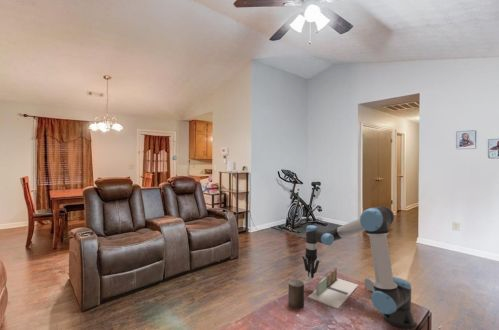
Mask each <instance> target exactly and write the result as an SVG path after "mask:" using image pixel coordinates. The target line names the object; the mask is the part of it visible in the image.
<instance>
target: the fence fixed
mask: <svg viewBox="0 0 499 330" xmlns="http://www.w3.org/2000/svg"><path fill="white" fill-rule="evenodd" d="M337 270H338V269H337V267H334V268H333V270H332V271H330V272H329V273H328V274H325V275H324V277H327V287H326V288H328V286H329V285H330V284H332V283H333V282H334V281H335V280H337V277H338V276H337V275H338V273H337V272H338V271H337Z"/></svg>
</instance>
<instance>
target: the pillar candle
mask: <svg viewBox="0 0 499 330" xmlns="http://www.w3.org/2000/svg"><path fill="white" fill-rule="evenodd" d="M287 283H288V306H289V307H290V308H293V309H302V308H303V307H305V283H304V281H303V280H300V279H294V278H293V279H290V280H288V282H287Z"/></svg>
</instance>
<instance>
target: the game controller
mask: <svg viewBox="0 0 499 330" xmlns="http://www.w3.org/2000/svg"><path fill="white" fill-rule="evenodd" d="M375 281H376V280H374V279H372V278H370V277H366V278H364V281H363V283H364V287H365V288H366V290H368V292H369V291H370V292H372V293H373V292H374V286H373V283H374V282H375Z"/></svg>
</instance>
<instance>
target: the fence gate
mask: <svg viewBox="0 0 499 330" xmlns="http://www.w3.org/2000/svg"><path fill="white" fill-rule="evenodd" d="M315 285H316V286H315V287H316V288H315V290H316V295H319V294H320V293H321V292H322V291H323V290H324V289H325V288H326V287H327V277H325V276H324V277H323V278H322V279H321V280H320V281H318V282H316V283H315Z"/></svg>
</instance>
